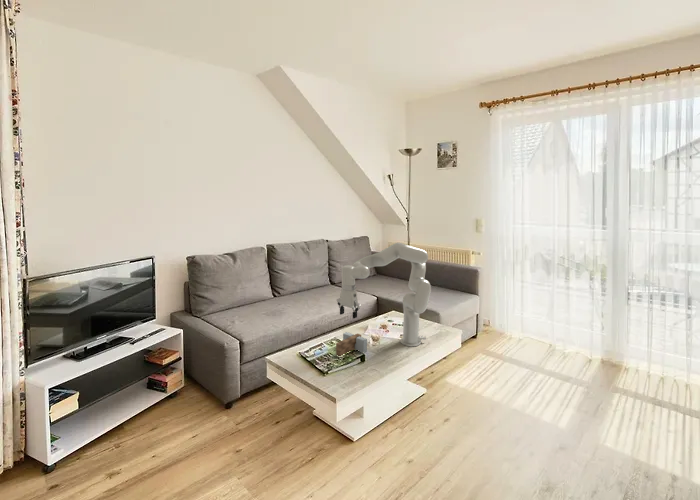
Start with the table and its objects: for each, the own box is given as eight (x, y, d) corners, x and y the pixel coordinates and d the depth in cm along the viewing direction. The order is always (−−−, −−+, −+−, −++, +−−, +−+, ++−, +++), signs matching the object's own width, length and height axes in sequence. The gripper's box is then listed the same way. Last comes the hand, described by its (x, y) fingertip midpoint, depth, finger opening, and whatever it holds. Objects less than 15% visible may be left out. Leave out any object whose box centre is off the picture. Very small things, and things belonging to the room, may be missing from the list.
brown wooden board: (357, 345, 237) (357, 333, 235) (361, 347, 235) (361, 334, 233) (336, 356, 223) (336, 343, 221) (340, 358, 221) (340, 344, 219)
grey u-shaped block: (343, 345, 237) (343, 333, 235) (346, 344, 239) (346, 331, 238) (363, 353, 227) (363, 340, 225) (366, 351, 229) (367, 338, 227)
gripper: (364, 288, 218) (364, 317, 222) (341, 283, 229) (341, 310, 233) (355, 291, 213) (355, 321, 216) (332, 285, 224) (332, 314, 227)
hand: (348, 315), depth 224 cm, fingers open, 9 cm apart
